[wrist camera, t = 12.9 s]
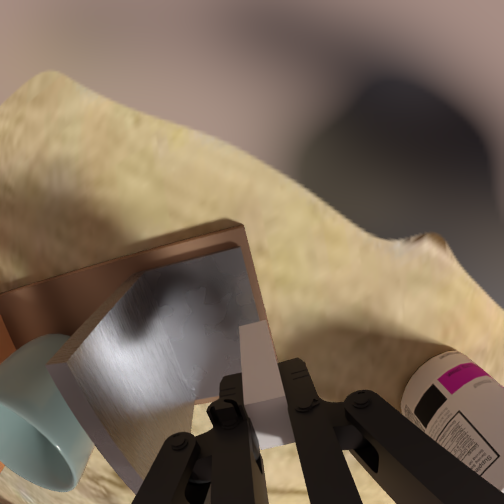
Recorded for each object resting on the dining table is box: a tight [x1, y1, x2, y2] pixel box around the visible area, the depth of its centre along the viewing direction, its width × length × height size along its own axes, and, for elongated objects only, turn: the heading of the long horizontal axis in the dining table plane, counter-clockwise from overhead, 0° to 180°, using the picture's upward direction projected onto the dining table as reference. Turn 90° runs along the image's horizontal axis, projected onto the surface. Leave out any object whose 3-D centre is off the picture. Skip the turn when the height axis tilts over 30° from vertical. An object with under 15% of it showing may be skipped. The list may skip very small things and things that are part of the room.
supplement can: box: [401, 351, 504, 493], centre depth 17 cm, size 8×8×15 cm
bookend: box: [45, 246, 260, 495], centre depth 14 cm, size 7×10×11 cm
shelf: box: [0, 225, 278, 405], centre depth 15 cm, size 31×12×13 cm, turn 104°
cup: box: [0, 333, 95, 492], centre depth 15 cm, size 8×8×10 cm
